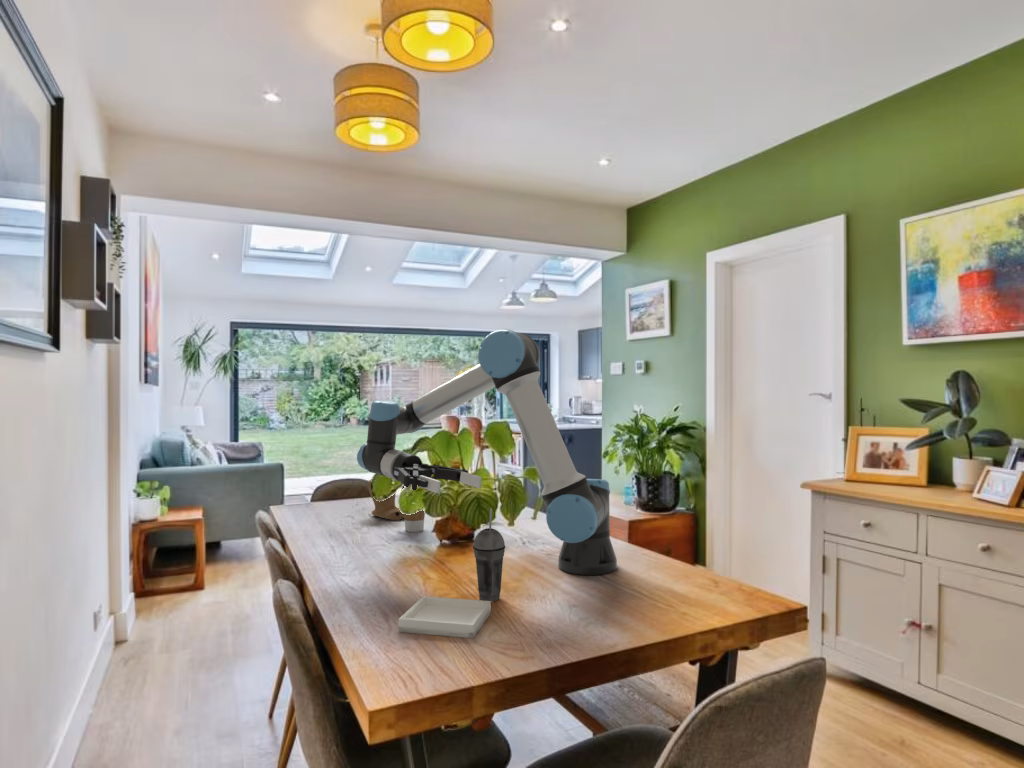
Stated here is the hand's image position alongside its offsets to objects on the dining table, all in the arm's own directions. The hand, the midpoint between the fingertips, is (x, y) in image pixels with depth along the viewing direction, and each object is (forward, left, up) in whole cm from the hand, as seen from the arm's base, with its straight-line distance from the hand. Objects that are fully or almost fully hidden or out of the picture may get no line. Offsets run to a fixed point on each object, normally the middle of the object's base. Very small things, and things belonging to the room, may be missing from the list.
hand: (460, 484), depth 144 cm
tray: (-3, +20, -24) cm, 32 cm away
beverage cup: (-8, +5, -25) cm, 26 cm away
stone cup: (+50, -69, -25) cm, 88 cm away
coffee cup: (+33, -53, -25) cm, 67 cm away
